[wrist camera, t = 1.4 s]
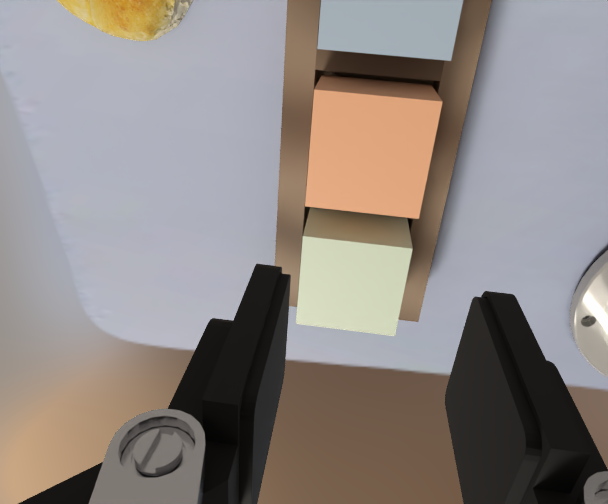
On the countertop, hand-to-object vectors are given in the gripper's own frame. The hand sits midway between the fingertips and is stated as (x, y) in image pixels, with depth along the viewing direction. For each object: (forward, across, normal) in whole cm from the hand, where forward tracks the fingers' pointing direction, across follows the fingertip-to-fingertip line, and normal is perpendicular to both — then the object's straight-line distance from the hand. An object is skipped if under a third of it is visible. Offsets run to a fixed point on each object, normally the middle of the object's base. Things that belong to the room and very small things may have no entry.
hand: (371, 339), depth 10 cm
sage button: (+17, 0, +7) cm, 18 cm away
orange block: (+17, 0, 0) cm, 17 cm away
